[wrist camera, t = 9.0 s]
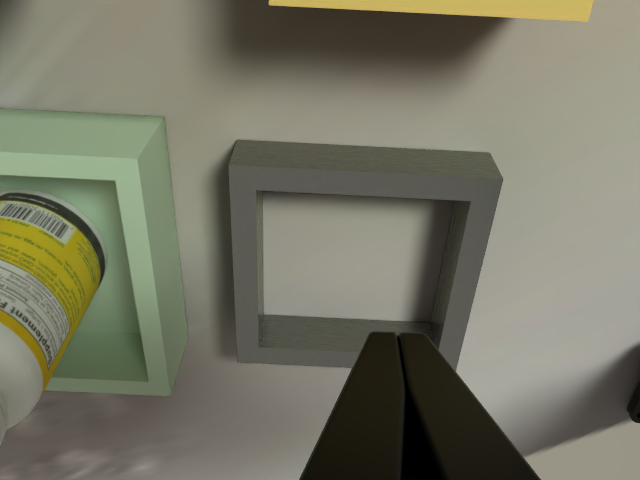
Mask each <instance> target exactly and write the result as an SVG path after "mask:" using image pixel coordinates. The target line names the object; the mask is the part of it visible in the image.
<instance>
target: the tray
mask: <svg viewBox="0 0 640 480" xmlns="http://www.w3.org/2000/svg"><path fill="white" fill-rule="evenodd" d="M15 188H26V189H35V190H40V191H44V192H47V193H50V194H53V195H56V196H58V197H60V198H63V199H64V200H66V201H68V202H70V203H71V204H73V205H74V206H75V207H77V208H78V209H79V210H80V211H82V212H83V213H84V214H85V215H86V216H87V217H88V218H89V219H90V220H91V221H92V223H93V224H94V225H95V227H96V228H97V229H98V231H99V232H100V234H101V236H102V238H103V240H104V243H105V246H106V250H107V268H106V272H105V275H104V277H103V280H102V282H101V284H100V286H99V288H98V289H97V291H96V293H95V295H94V297H93V299H92V301H91V303H90V305H89V307H88V308H87V310H86V312H85V314H84V316H83V318H82V320H81V322H80V324H79V326H78V327H77V329H76V331H75V333H74V335H73V337H72V339H71V340H70V342H69V345H68V347H67V348H66V350H65V352H64V354H63V356H62V358H61V359H60V361H59V363H58V365H57V367H56V369H55V371H54V373H53V375H52V376H51V378H50V380H49V382H48V385H47V387H46V388H45V390H44V391H65V392H86V393H107V394H128V395H149V396H170V397H171V394H172V390H173V387H174V384H175V380H176V377H177V374H178V370H179V367H180V364H181V361H182V357H183V354H184V351H185V347H186V344H187V341H188V333H187V323H186V314H185V305H184V296H183V286H182V277H181V268H180V258H179V249H178V240H177V230H176V221H175V212H174V202H173V193H172V184H171V174H170V165H169V156H168V146H167V137H166V128H165V118H164V117H158V116H139V115H119V114H100V113H80V112H61V111H42V110H22V109H3V108H0V191H3V190H7V189H15Z"/></svg>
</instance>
